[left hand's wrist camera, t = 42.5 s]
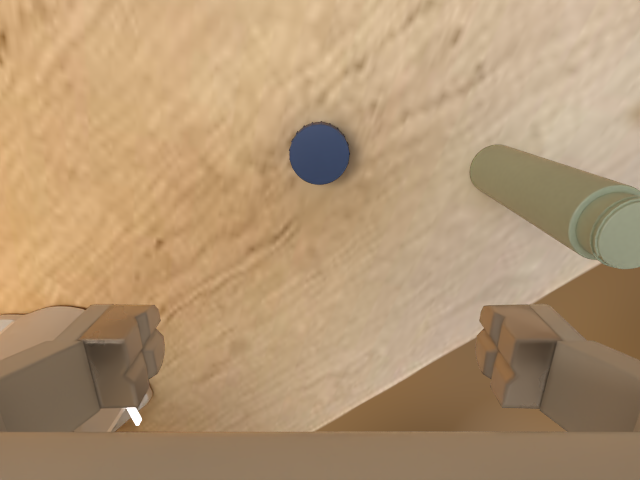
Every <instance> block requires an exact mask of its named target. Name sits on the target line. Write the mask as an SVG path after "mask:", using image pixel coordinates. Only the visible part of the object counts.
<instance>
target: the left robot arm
mask: <svg viewBox="0 0 640 480" xmlns="http://www.w3.org/2000/svg"><path fill="white" fill-rule="evenodd" d="M160 321H161V320H160V315H159V310H158V308H157V307H156V306H155V305H121V304H116V305H114V304H96V305H90V306H89V307H88V308H87V309H86V310H84V309H80V308H76V307H69V306H54V307H47V308H43V309H40V310H37V311H34V312H32V313H29V314H24V315H18V314H5V315H0V480H640V360H638V359H635V358H633V357H631V356H628V355H626V354H624V353H621V352H619V351H617V350H614V349H612V348H610V347H607V346H605V345H602V344H600V343H598V342H595V341H587V340H586V339H585V338H584V337H583V336H582V335H581V334H579V333H578V332H577V331H576V330H575V329H574V328H573V327H572V326H571V325H570V324H569V323H568V322H567V321H566V320H565V319H564V318H563V317H561V316H560V315H559V314H558V313H557V312H556V311H555V310H554V309H553V308H552V307H551V306H549V305H546V304H530V305H528V304H527V305H488V306H484V307H483V309H482V311H481V314H480V320H479V321H480V322H481V324H482V326H483V327H484V329H483V330H482V331H481V332H480V333H479V334H478V335H477V338H476V346H475V350H476V359H477V362H478V366H479V368H480V369H481V372H482V373H483V374H484V375H486V376H487V377H489V378H490V379H491V385H490V387H491V389H492V391H493V393H494V394H495V396H496V398H497V400H498V401H499V403H500V405H501V407H502V408H536V409H540V411H541V412H542V413H544V414H545V415H546V416H548V417H549V418H550V419H552V420H553V421H554V422H555V423H557V424H558V425H559V426H561V427H562V428H563V429H565V430H566V431H567V432H115V431H116V430H117V429H119V428H120V427H121V426H122V425H123V424H124V423H125V422H127V421H128V420H129V419H130V418H131V417H132V419H133V421H134V423H135V424H136V426H137V425H139V424H140V422H141V420H142V418H141V417H140V415H139V413H138V411H139V410H140V409H141V408H143V407H144V406H145V405H146V404H147V403H148V402H149V400H150V399H151V397H152V390H151V388H150V385H149V379H150V378H152V377H153V376H155V375H156V374H157V373H158V371H159V370H160V368H161V366H162V362H163V358H164V347H165V344H164V338H163V335H162V334H161V333H160V332H159V331H158V330H157V329H156V327H157V326H158V324H159V322H160Z"/></svg>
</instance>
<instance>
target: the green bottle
mask: <svg viewBox="0 0 640 480" xmlns="http://www.w3.org/2000/svg"><path fill="white" fill-rule="evenodd" d="M470 178H471V181H472V183H473V184H474V186H475V187H476V188H478V189H479V190H481V191H482V192H484V193H485V194H487V195H488V196H490V197H491V198H493V199H494V200H496V201H498V202H499V203H501V204H502V205H504V206H505V207H507V208H508V209H510V210H511V211H513V212H515V213H516V214H518V215H519V216H521V217H522V218H524V219H525V220H527V221H528V222H530V223H532V224H533V225H535V226H536V227H538V228H539V229H541V230H542V231H544V232H545V233H547V234H548V235H550V236H552V237H553V238H555V239H556V240H558V241H559V242H561V243H562V244H564V245H565V246H567V247H569V248H570V249H572V250H573V251H575V252H576V253H578V254H579V255H581V256H583V257H585V258H588V259H592V260H598V261H600V262H601V263H603V264H604V265H607V266H611V267H615V268H619V269H632V268H637V267H640V191H639V190H638V189H636V188H634V187H632V186H629V185H625V184H622V183H619V182H616V181H613V180H610V179H607V178H604V177H601V176H597V175H594V174H591V173H588V172H585V171H582V170H579V169H576V168H573V167H569V166H566V165H563V164H560V163H557V162H554V161H551V160H548V159H545V158H541V157H538V156H535V155H532V154H529V153H526V152H523V151H520V150H517V149H514V148H510V147H507V146H504V145H492V146H489V147H486V148H484V149H483V150H481V151H480V152H479V153H478V154H477V155H476V156H475V158H474V159H473V161H472V164H471V167H470Z"/></svg>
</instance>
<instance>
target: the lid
mask: <svg viewBox="0 0 640 480" xmlns="http://www.w3.org/2000/svg"><path fill="white" fill-rule="evenodd" d="M344 137H345V136H344V134H342V133H341V132H340V131H339V129H338V128H336V127H334V126H332V125H331V124H330V123H329V124H328V123H323V122H322V121H321V122H315V123H313V122H312V123H311V124H308V125H306V126H305V125H304V127H303V128H302V129H301V130H299V132H298V131H297V133H296V136H295V137H294V139H292V141H291V142H292V144H291V147H290V149H289V151H290V162H291V165H292V168H293V170H294V171H295V173H296V174H297V175H298V176H299V177H300V178H301V179H303V180H304V181H306V182H308V183H311V184H317V185H322V184H327V183H330V182H333V181H334V180H336V179H337V178H339V177H340V176H341V175H342V174H343V172H344V171H345V169H346V167H347V165H348V161H349V155H350V153H349V148H348V146H349V145H348V143H347V142H346V140H345V138H344Z"/></svg>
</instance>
